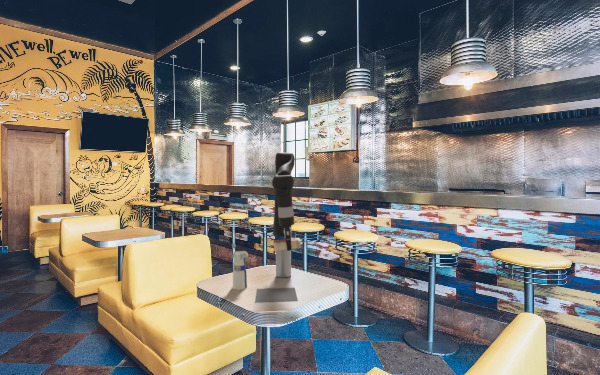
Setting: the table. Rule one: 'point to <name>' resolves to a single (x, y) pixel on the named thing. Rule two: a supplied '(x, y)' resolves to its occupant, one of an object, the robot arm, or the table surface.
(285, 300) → the rubber mat
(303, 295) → the table surface
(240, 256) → the water bottle
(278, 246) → the tan two-tone tall block
